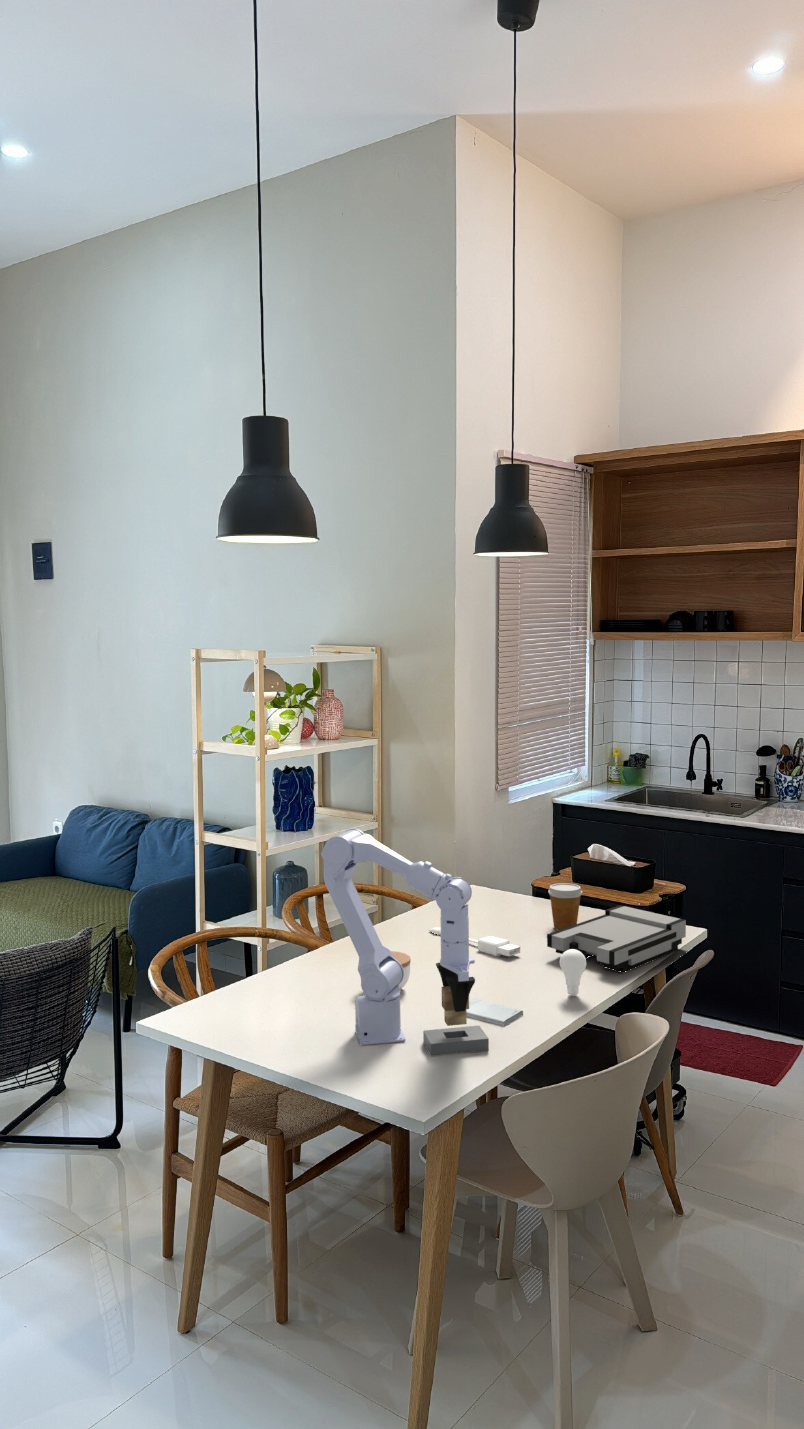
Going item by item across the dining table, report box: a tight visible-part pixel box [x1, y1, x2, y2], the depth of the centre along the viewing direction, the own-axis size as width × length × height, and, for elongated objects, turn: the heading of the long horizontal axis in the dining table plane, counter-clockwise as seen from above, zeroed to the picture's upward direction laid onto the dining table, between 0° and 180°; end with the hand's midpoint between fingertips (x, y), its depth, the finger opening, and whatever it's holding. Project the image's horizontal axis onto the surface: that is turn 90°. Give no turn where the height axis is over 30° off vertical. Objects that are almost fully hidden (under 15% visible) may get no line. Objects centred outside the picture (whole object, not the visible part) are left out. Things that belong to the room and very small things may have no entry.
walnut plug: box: [441, 986, 470, 1027], centre depth 207 cm, size 5×3×7 cm, turn 101°
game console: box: [546, 904, 687, 973], centre depth 264 cm, size 21×32×8 cm, turn 133°
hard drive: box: [466, 998, 524, 1027], centre depth 225 cm, size 2×8×12 cm
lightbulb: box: [559, 949, 587, 997], centre depth 234 cm, size 6×6×11 cm
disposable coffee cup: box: [548, 882, 583, 931], centre depth 287 cm, size 10×10×12 cm
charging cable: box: [428, 926, 521, 957], centre depth 275 cm, size 5×32×3 cm, turn 41°
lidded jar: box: [390, 950, 411, 992], centre depth 240 cm, size 11×11×9 cm
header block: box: [422, 1025, 490, 1057], centre depth 207 cm, size 12×7×2 cm, turn 101°
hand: (455, 1004), depth 207 cm, fingers open, 7 cm apart
